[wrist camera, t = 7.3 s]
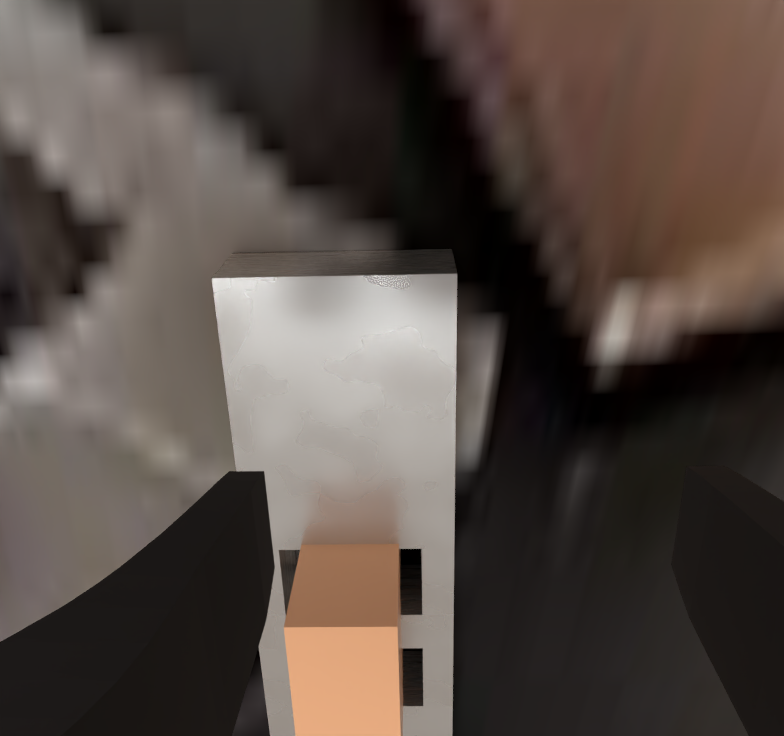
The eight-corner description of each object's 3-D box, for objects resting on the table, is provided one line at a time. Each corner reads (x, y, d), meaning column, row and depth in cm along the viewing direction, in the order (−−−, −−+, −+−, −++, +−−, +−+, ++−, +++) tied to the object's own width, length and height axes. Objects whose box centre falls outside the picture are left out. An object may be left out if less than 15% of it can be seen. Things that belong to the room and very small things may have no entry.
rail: (452, 248, 21) (457, 273, 19) (447, 808, 31) (451, 869, 29) (232, 253, 22) (211, 278, 19) (296, 808, 31) (287, 868, 29)
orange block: (399, 497, 25) (397, 626, 19) (403, 643, 27) (402, 793, 22) (310, 498, 25) (283, 627, 19) (323, 643, 28) (301, 793, 22)
